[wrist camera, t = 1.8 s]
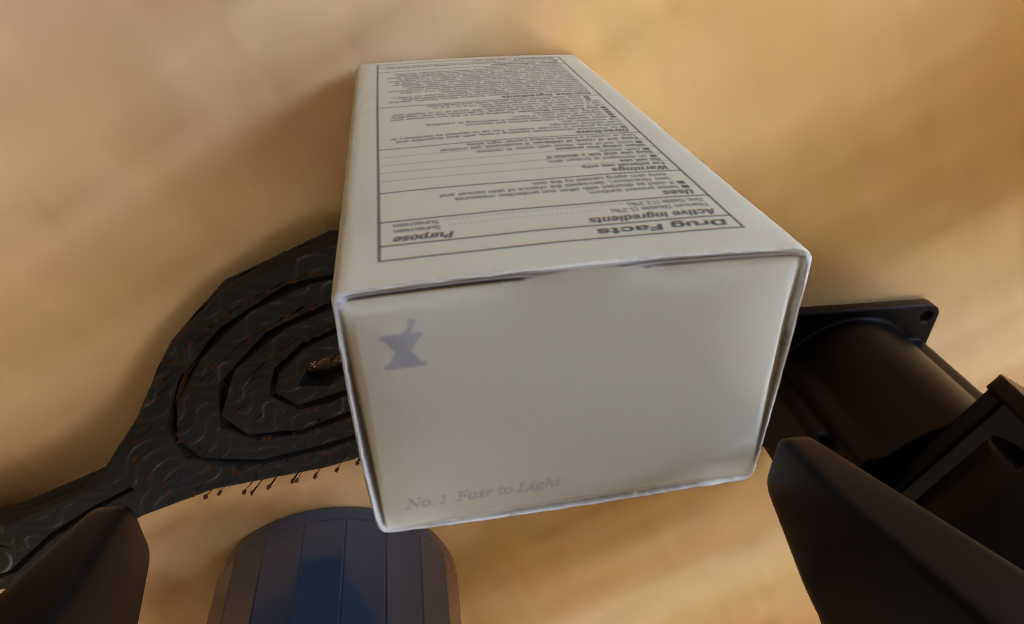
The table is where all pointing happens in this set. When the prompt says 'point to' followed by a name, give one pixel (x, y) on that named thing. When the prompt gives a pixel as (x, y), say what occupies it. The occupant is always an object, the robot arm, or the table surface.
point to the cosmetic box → (546, 296)
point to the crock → (336, 574)
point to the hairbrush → (218, 406)
